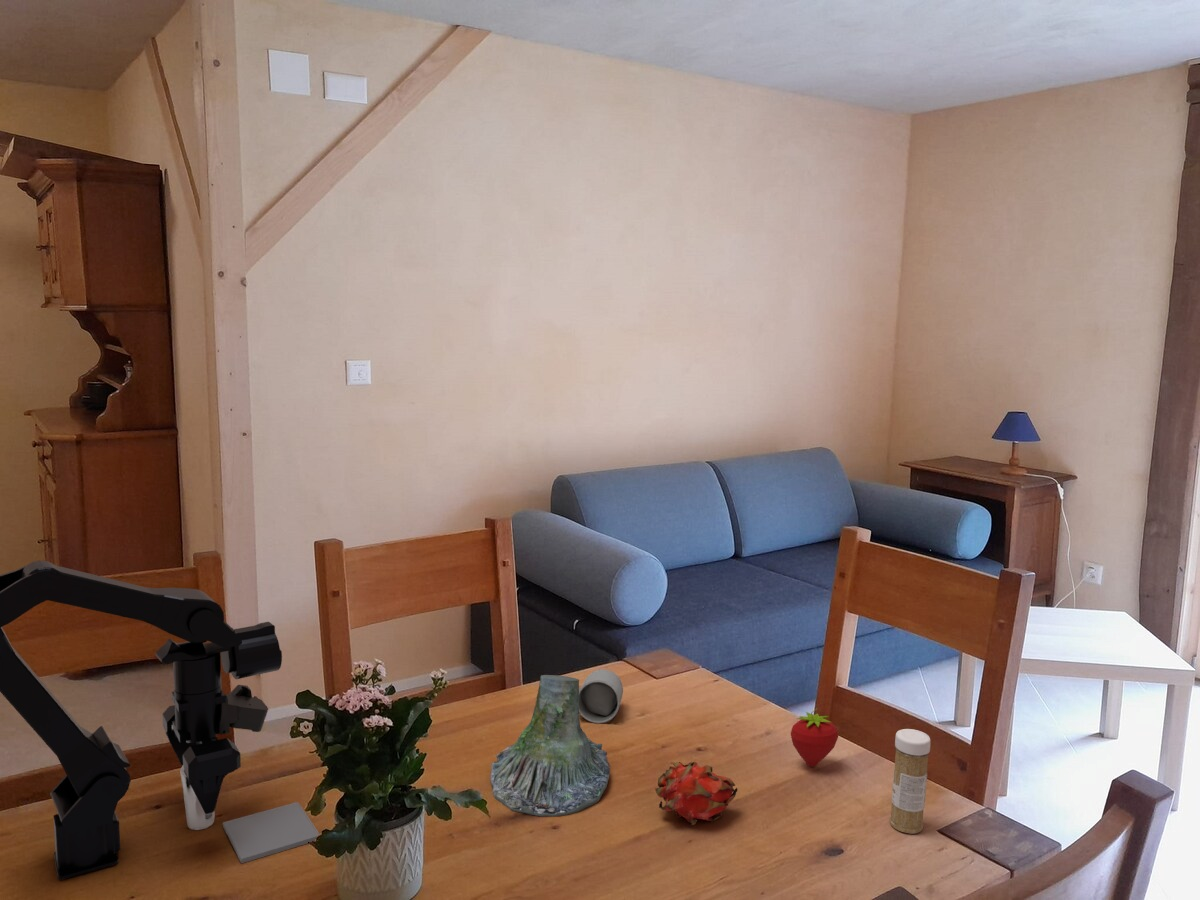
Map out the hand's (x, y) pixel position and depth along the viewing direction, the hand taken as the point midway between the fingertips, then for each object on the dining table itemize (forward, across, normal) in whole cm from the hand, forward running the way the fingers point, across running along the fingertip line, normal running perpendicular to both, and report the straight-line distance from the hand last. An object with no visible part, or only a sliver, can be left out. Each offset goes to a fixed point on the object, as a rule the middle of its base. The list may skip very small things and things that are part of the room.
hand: (202, 797), depth 122 cm
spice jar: (+4, -52, -81) cm, 96 cm away
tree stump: (+4, -14, -46) cm, 48 cm away
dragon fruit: (+4, -34, -58) cm, 67 cm away
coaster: (+4, -7, -7) cm, 11 cm away
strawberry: (+4, -33, -83) cm, 90 cm away
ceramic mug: (+4, +1, -65) cm, 65 cm away
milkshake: (+4, 0, 0) cm, 4 cm away
